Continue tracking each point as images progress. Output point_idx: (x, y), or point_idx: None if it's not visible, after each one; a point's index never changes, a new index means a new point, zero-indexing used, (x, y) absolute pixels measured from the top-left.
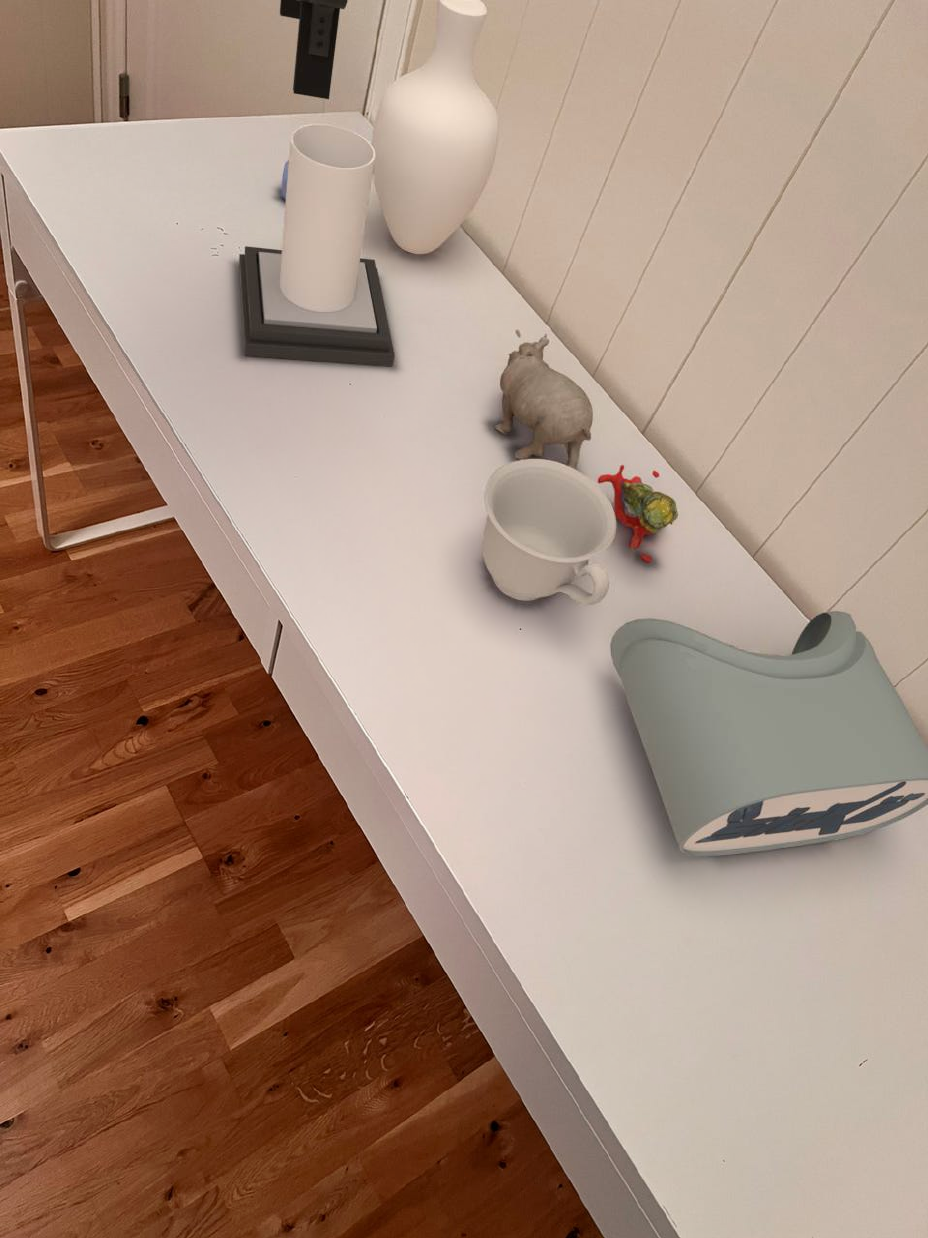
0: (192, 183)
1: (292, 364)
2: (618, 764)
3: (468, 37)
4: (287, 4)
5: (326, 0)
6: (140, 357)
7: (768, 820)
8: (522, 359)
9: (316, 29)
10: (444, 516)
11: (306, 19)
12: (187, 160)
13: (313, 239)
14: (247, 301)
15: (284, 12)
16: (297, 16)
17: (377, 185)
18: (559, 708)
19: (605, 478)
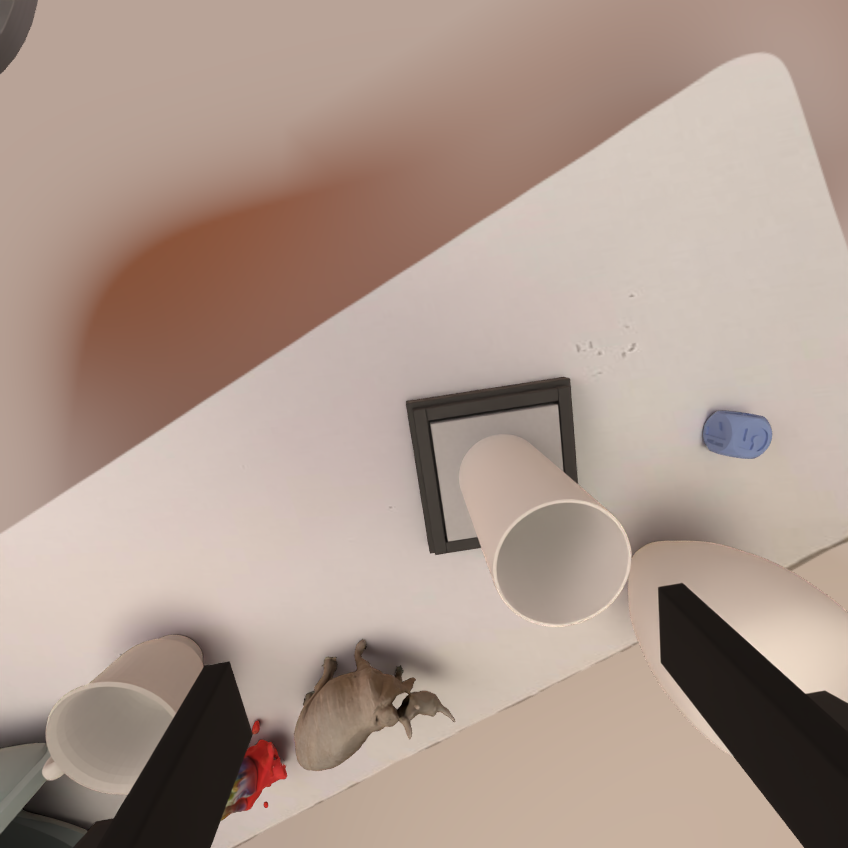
0: (724, 300)
1: (406, 449)
2: (12, 716)
3: None
4: (676, 623)
5: None
6: (375, 295)
7: None
8: (372, 709)
9: None
10: (231, 596)
11: None
12: (776, 286)
13: (473, 500)
14: (480, 397)
15: (663, 602)
16: (661, 631)
17: (681, 551)
18: (50, 679)
19: (268, 752)
